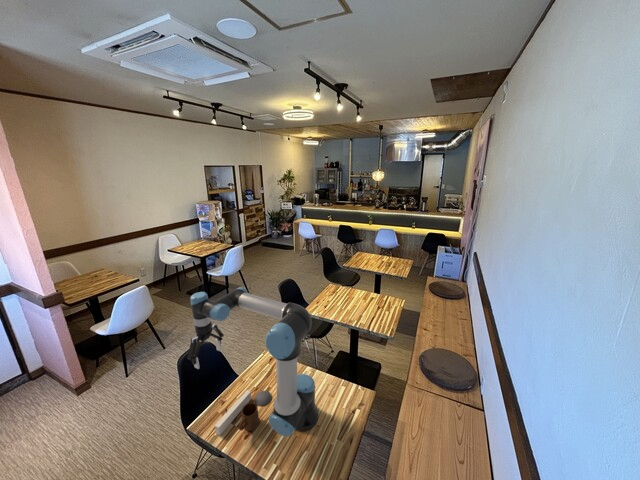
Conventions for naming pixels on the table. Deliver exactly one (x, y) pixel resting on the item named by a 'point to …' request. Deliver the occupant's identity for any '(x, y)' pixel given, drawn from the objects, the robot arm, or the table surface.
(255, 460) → the table surface
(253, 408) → the mug
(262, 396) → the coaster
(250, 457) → the table surface
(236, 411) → the board
